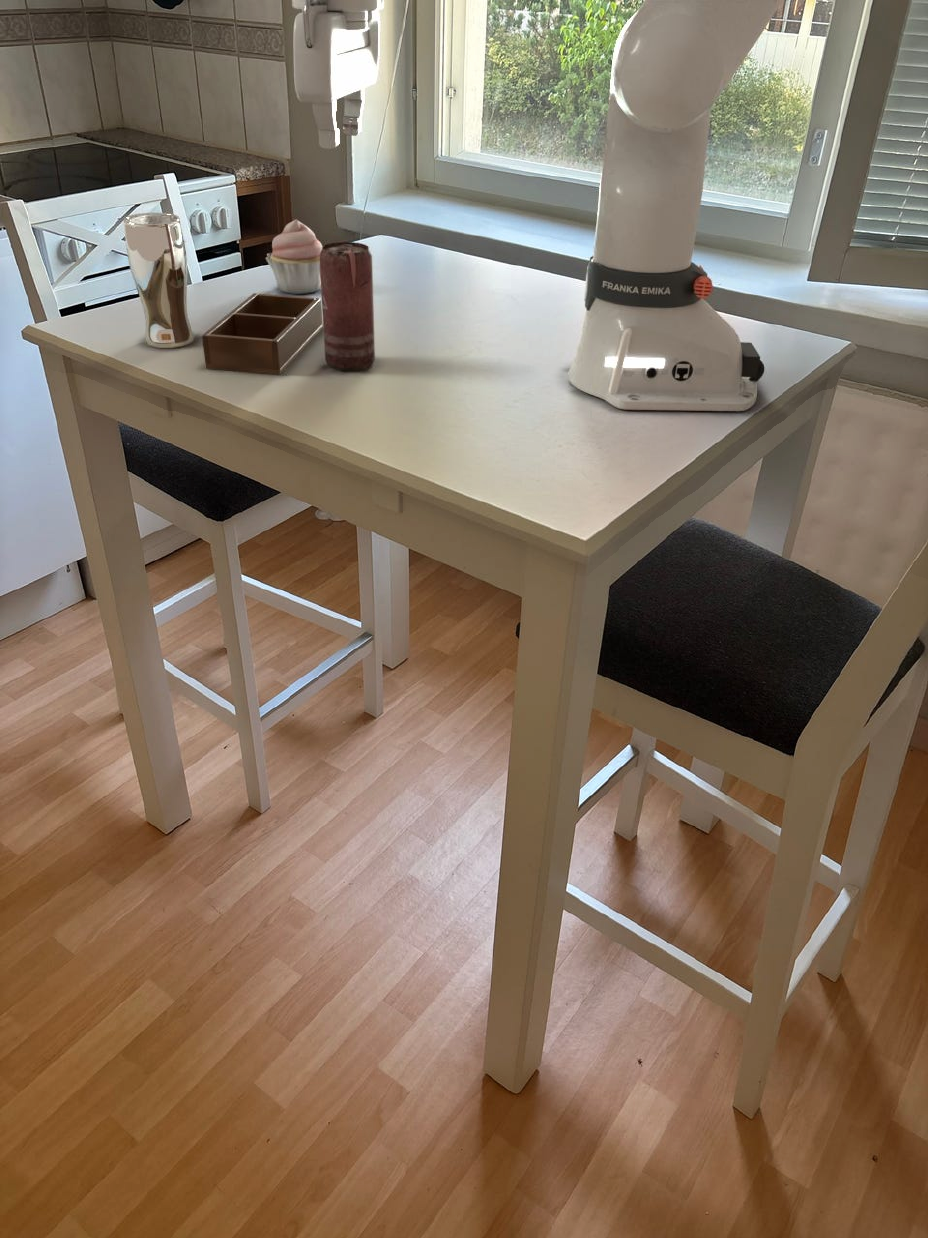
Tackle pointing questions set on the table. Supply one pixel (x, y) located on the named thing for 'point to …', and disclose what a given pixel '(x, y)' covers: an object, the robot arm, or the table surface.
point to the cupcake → (296, 259)
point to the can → (347, 306)
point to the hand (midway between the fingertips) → (341, 140)
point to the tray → (263, 334)
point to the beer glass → (160, 276)
